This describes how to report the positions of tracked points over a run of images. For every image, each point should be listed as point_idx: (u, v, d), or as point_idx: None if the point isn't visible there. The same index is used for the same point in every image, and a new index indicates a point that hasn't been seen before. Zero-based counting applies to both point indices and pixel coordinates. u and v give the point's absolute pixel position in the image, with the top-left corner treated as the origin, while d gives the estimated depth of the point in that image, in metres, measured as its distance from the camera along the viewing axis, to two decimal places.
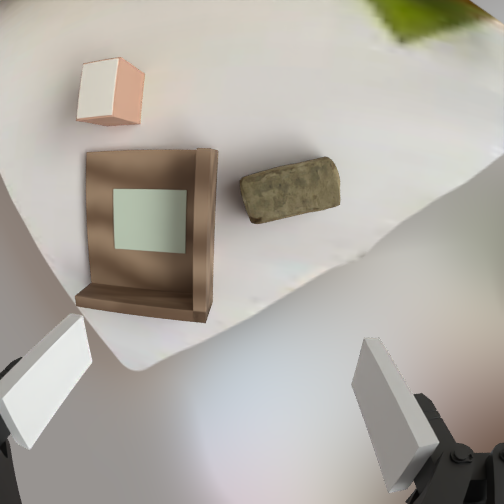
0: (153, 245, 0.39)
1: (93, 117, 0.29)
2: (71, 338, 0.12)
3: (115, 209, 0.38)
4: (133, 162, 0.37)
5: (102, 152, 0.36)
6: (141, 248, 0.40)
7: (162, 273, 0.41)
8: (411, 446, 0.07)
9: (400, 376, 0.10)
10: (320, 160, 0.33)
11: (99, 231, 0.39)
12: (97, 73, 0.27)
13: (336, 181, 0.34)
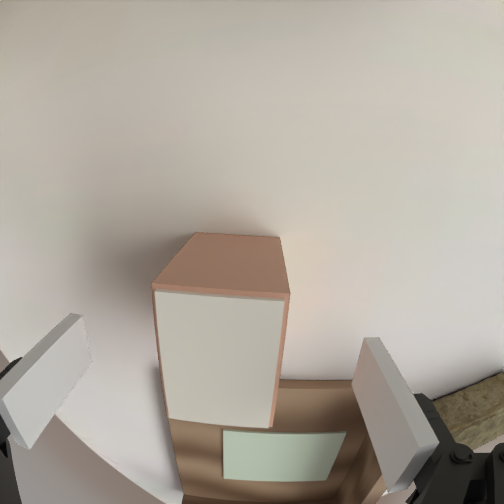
0: (284, 477, 0.24)
1: None
2: (71, 338, 0.12)
3: (227, 450, 0.23)
4: None
5: None
6: (265, 479, 0.24)
7: (289, 493, 0.25)
8: (411, 446, 0.07)
9: (400, 376, 0.10)
10: None
11: (197, 463, 0.24)
12: (215, 335, 0.11)
13: None
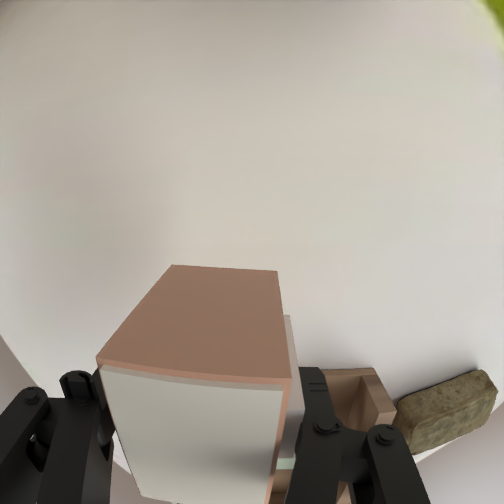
0: None
1: None
2: None
3: None
4: None
5: None
6: None
7: (279, 481, 0.28)
8: None
9: (294, 348, 0.12)
10: (489, 392, 0.21)
11: None
12: (187, 426, 0.07)
13: (491, 408, 0.22)
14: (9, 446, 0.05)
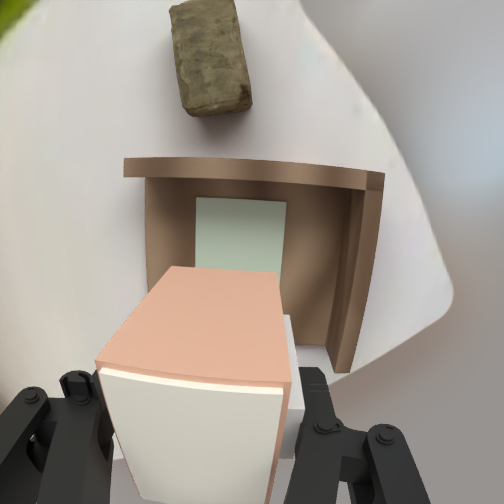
0: (273, 248, 0.29)
1: None
2: None
3: None
4: (161, 270, 0.30)
5: None
6: (278, 266, 0.29)
7: (316, 238, 0.29)
8: None
9: (294, 348, 0.12)
10: (171, 18, 0.20)
11: None
12: (187, 429, 0.07)
13: None
14: (9, 446, 0.05)
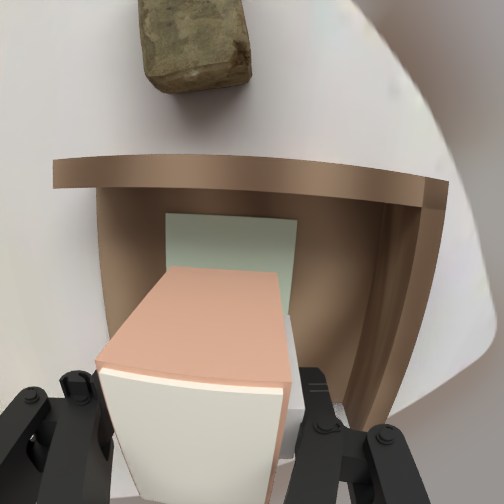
0: None
1: None
2: None
3: None
4: (124, 312, 0.21)
5: None
6: (284, 310, 0.20)
7: (338, 272, 0.20)
8: None
9: (294, 348, 0.12)
10: None
11: None
12: (187, 429, 0.07)
13: None
14: (9, 446, 0.05)
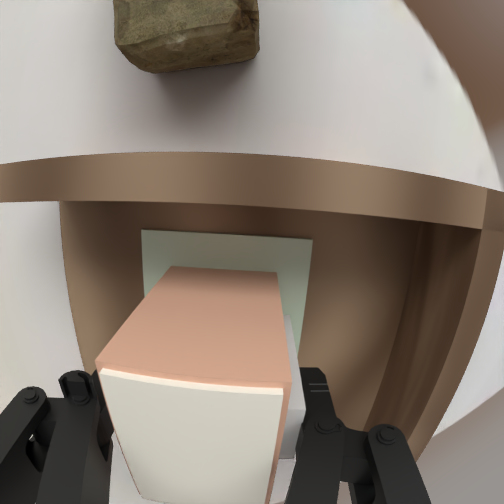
0: None
1: None
2: None
3: None
4: (99, 347, 0.16)
5: None
6: None
7: (362, 303, 0.15)
8: None
9: (295, 348, 0.12)
10: None
11: None
12: (187, 429, 0.07)
13: None
14: (8, 446, 0.05)
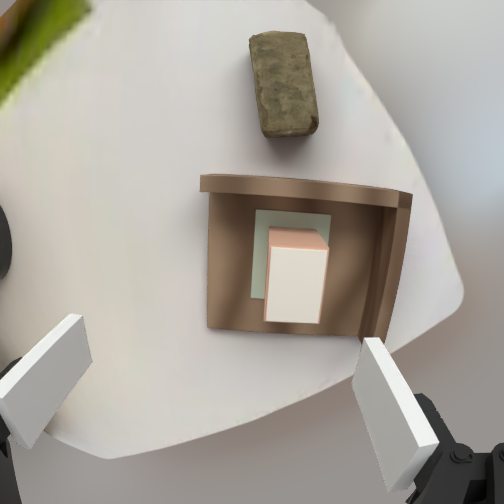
0: None
1: (291, 322, 0.27)
2: (71, 338, 0.12)
3: None
4: (221, 272, 0.35)
5: (208, 308, 0.37)
6: None
7: (354, 245, 0.34)
8: (411, 446, 0.07)
9: (400, 376, 0.10)
10: (251, 47, 0.26)
11: None
12: (297, 267, 0.26)
13: (277, 33, 0.25)
14: None
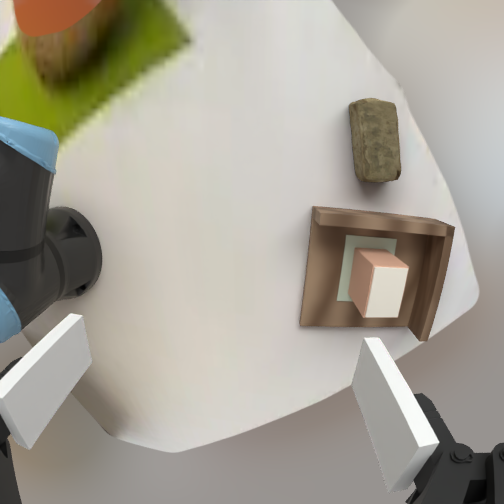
0: None
1: (380, 317, 0.37)
2: (71, 338, 0.12)
3: None
4: (316, 282, 0.45)
5: (303, 310, 0.46)
6: None
7: (409, 260, 0.44)
8: (411, 446, 0.07)
9: (400, 376, 0.10)
10: (358, 110, 0.35)
11: None
12: (389, 280, 0.36)
13: (377, 102, 0.34)
14: None
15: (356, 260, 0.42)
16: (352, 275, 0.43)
